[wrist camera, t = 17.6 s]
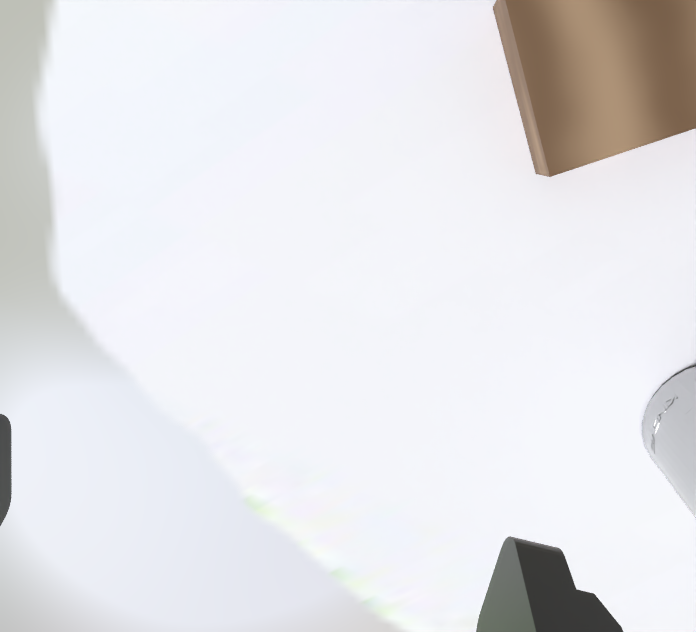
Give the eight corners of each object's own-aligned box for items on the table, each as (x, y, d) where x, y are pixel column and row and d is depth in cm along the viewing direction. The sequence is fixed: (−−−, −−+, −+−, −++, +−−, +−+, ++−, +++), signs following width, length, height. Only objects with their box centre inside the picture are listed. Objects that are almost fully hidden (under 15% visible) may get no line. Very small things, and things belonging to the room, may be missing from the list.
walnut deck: (752, -98, 30) (800, -134, 26) (780, 91, 32) (828, 83, 28) (492, 7, 33) (502, -11, 29) (535, 173, 35) (549, 176, 31)
